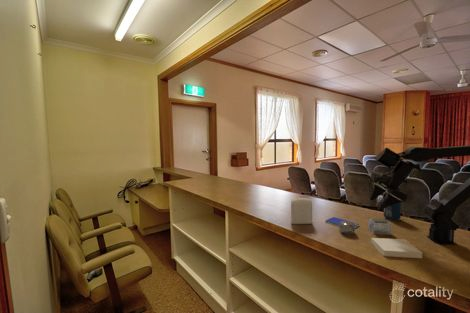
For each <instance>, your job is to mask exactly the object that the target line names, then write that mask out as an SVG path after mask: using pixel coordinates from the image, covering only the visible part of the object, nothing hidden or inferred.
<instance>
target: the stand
mask: <svg viewBox="0 0 470 313" xmlns="http://www.w3.org/2000/svg"><path fill="white" fill-rule="evenodd" d="M370 243H371V245H372V246H374V248H376V250H377V251H378V252H379V253H380V254H381V255H382V256H384V257H395V258H409V259H410V258H412V259H423V252H422V251H421V250H419V248H417V247H416V246H414V245H413V244H411V243H410V242H409V241H408V240H406V239H401V238H383V237H382V238H381V237H370Z"/></svg>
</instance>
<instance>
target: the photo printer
mask: <svg viewBox="0 0 470 313" xmlns="http://www.w3.org/2000/svg"><path fill="white" fill-rule="evenodd" d="M290 222H291V223H290V224H293V225H309V224H313V202H312V199H310V198H305V197H299V198H295V199H291V202H290Z"/></svg>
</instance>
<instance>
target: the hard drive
mask: <svg viewBox="0 0 470 313" xmlns="http://www.w3.org/2000/svg"><path fill="white" fill-rule="evenodd" d="M341 221H348V222H352V223H354V224H355V229H356V228H358V227H359V226H360V224H359V223H356V222H354V221H350V220H345V219H342V218H339V217H335V216H333V217H330V218H328V219H325V221H324V222H325V223H327V224H330V225H332V226H336V227H339V222H341Z"/></svg>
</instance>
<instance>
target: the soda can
mask: <svg viewBox="0 0 470 313" xmlns="http://www.w3.org/2000/svg"><path fill="white" fill-rule="evenodd" d="M385 197H386V195H385V196H384V198H383V200H384V199H385ZM401 210H402V202H399V203H396V204H393V205H391V206H389V207H386V208H384V209H383V216H384V219H385V220H387V221H388V220H389V221H394V222H396V221H400V219H401V218H402V217H401V216H402V215H401V214H402V213H401Z"/></svg>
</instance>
